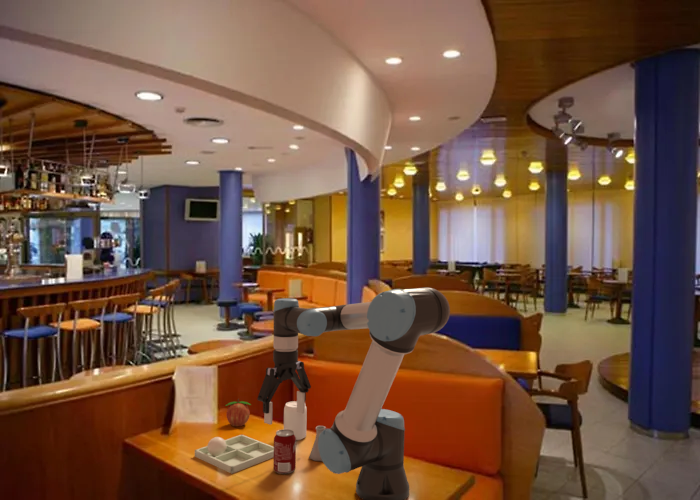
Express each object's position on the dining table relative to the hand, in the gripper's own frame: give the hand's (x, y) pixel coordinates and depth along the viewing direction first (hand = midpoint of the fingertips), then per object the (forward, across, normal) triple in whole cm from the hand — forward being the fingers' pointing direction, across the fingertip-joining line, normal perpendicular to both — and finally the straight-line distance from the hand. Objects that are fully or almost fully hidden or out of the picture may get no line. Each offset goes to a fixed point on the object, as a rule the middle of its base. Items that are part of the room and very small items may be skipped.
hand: (284, 417), depth 170 cm
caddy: (+16, +4, -18) cm, 25 cm away
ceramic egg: (+15, +8, -23) cm, 29 cm away
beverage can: (+17, -22, -18) cm, 33 cm away
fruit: (+16, -16, -43) cm, 49 cm away
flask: (+17, -15, +1) cm, 23 cm away
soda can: (+17, 0, 0) cm, 17 cm away
